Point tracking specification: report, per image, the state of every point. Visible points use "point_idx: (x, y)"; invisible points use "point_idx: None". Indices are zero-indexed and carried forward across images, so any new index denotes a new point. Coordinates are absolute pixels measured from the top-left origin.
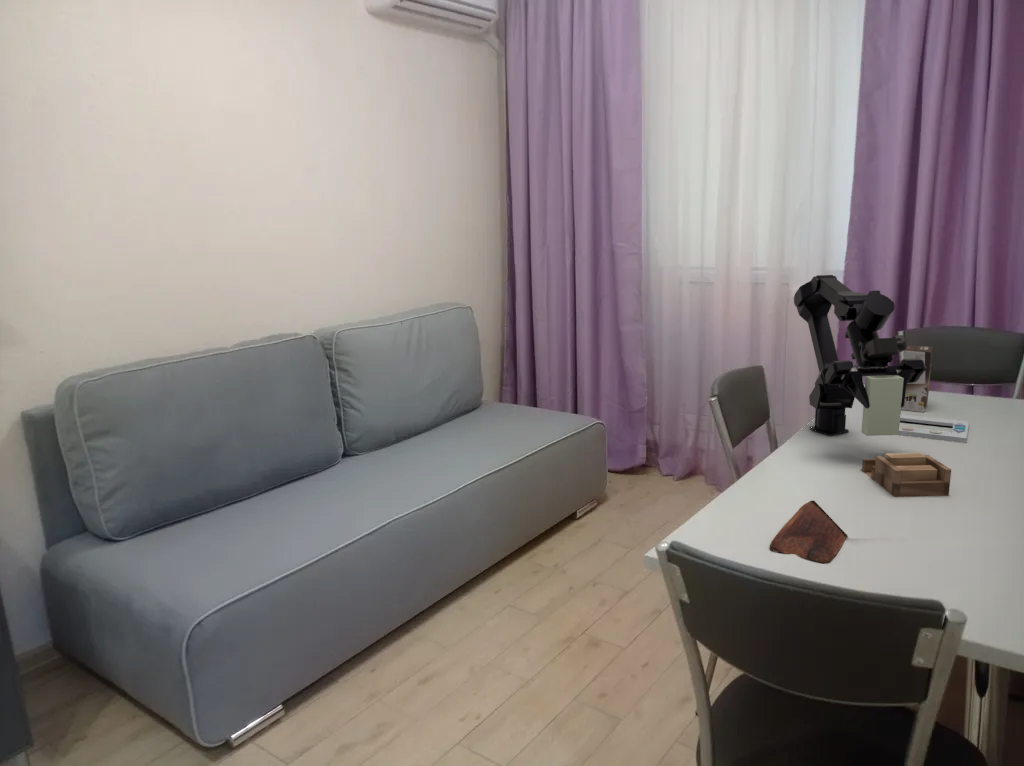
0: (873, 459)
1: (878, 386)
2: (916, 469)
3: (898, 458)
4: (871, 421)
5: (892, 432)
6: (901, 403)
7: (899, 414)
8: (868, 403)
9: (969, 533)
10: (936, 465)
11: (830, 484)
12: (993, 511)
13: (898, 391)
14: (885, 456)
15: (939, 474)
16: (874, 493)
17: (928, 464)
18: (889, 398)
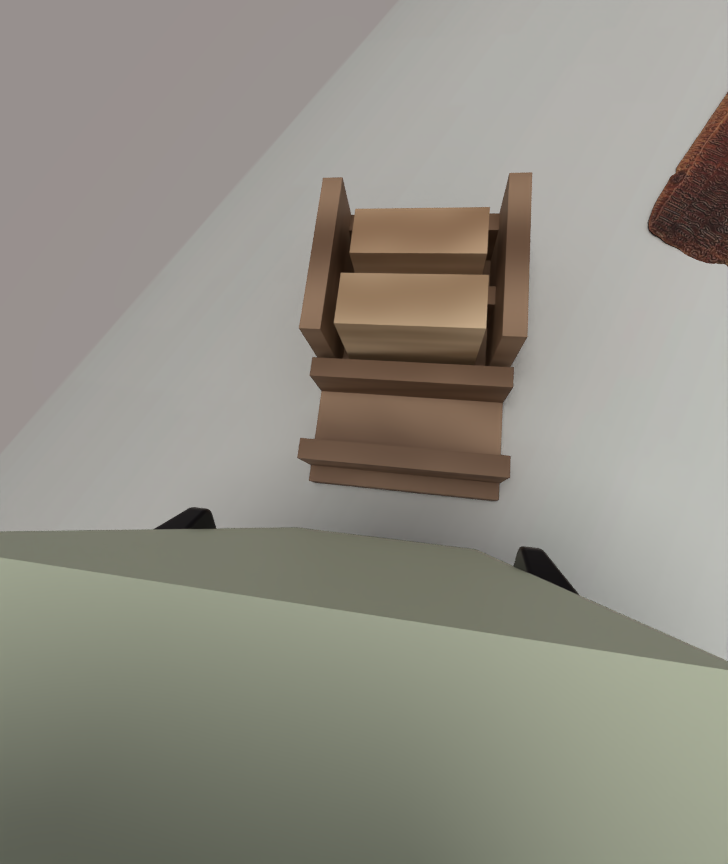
0: (466, 462)
1: (442, 593)
2: (428, 213)
3: (457, 276)
4: (461, 552)
5: (326, 531)
6: (199, 526)
7: (252, 529)
8: (536, 565)
9: (425, 79)
10: (336, 237)
11: (656, 412)
12: (284, 186)
13: (154, 537)
14: (484, 332)
15: (343, 234)
16: (532, 319)
17: (332, 297)
18: (294, 547)
